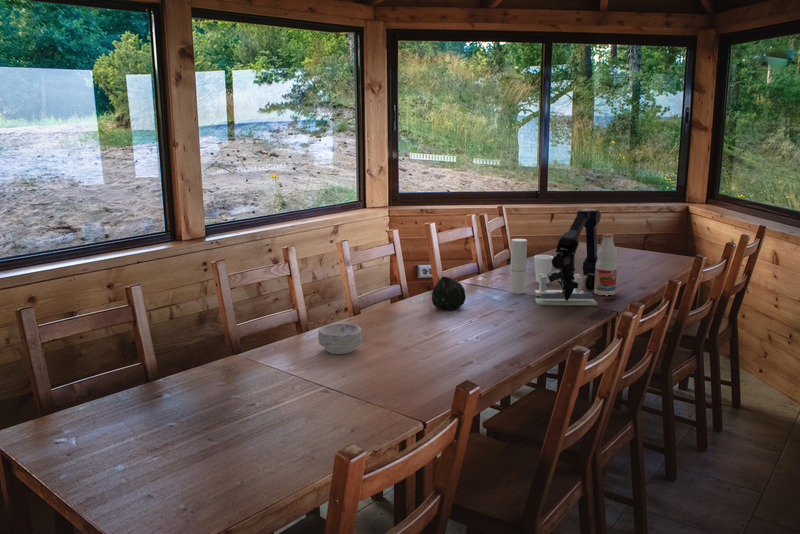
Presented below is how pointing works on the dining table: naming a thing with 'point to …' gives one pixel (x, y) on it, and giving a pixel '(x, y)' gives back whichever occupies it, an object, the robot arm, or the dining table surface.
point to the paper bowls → (340, 337)
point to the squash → (448, 294)
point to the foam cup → (542, 265)
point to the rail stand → (543, 289)
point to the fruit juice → (606, 267)
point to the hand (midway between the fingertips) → (565, 299)
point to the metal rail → (562, 296)
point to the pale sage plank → (565, 301)
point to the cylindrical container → (518, 266)
